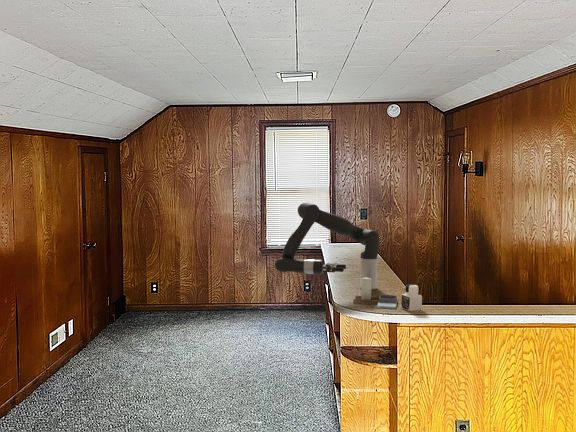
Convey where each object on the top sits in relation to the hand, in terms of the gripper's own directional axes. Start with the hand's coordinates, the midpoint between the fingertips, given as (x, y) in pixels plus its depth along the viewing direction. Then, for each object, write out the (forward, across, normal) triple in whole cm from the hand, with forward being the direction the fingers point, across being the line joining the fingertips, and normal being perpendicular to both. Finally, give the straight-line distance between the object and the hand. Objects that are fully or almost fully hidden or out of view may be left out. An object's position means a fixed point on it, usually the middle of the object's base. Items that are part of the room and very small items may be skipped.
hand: (344, 268), depth 306 cm
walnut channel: (+11, 0, +17) cm, 20 cm away
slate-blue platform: (+22, -8, +17) cm, 29 cm away
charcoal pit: (+22, 0, +17) cm, 28 cm away
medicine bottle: (+34, -11, +17) cm, 40 cm away
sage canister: (+11, 0, +17) cm, 20 cm away
